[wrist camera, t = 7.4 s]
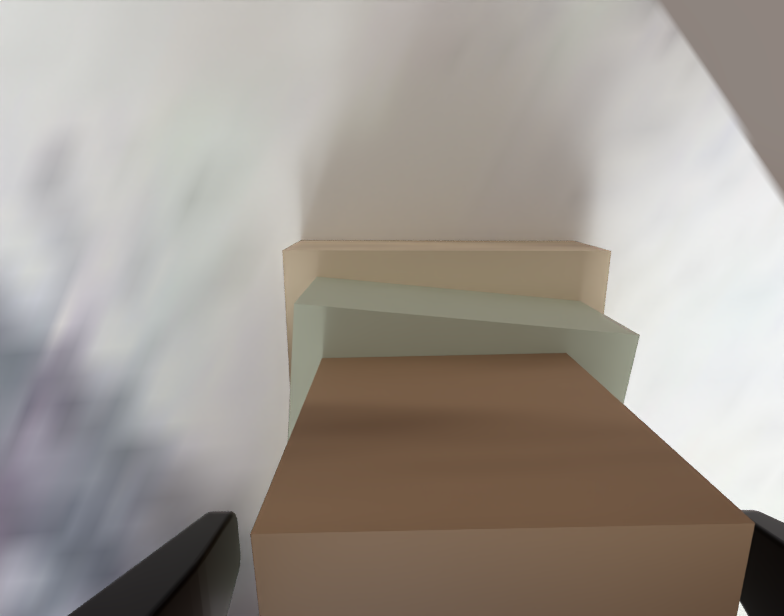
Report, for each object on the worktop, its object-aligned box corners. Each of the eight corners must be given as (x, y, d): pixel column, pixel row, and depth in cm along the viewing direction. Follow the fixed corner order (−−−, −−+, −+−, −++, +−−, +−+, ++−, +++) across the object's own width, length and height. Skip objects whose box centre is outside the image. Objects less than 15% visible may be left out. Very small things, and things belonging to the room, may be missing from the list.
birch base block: (545, 472, 17) (577, 530, 14) (313, 472, 17) (298, 530, 14) (567, 239, 15) (611, 250, 12) (303, 238, 15) (282, 250, 12)
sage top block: (535, 524, 14) (573, 612, 11) (304, 506, 14) (281, 591, 11) (579, 300, 12) (639, 335, 9) (317, 276, 12) (293, 303, 9)
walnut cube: (550, 557, 11) (686, 865, 6) (334, 562, 11) (288, 873, 6) (566, 353, 9) (755, 524, 5) (322, 357, 9) (250, 534, 5)
